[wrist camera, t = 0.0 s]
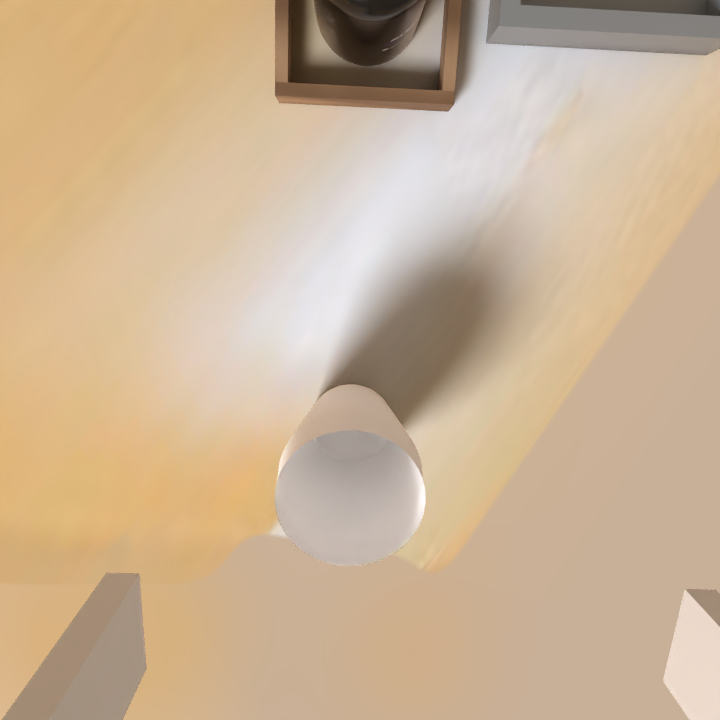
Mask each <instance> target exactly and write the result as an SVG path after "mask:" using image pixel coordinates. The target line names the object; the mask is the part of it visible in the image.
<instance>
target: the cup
mask: <svg viewBox="0 0 720 720" xmlns="http://www.w3.org/2000/svg"><path fill="white" fill-rule="evenodd" d="M425 498H426V495H425V487H424V481H423V475H422V465H421V460H420V457H419V454H418V451H417V449H416V447H415V445H414V443H413V441H412V440H411V438H410V436H409V435H408V434H407V432H406V431H405V429H404V428H403V426H402V425H401V423H400V422H399V420H398V419H397V418H396V416H395V415H394V413H393V412H392V410H391V409H390V407H389V406H388V405H387V403H386V402H385V400H384V399H383V398H382V397H381V396H380V395H379V394H378V393H376V392H375V391H373V390H372V389H370V388H367V387H365V386H361V385H356V384H346V385H340V386H337V387H334V388H332V389H330V390H328V391H327V392H325V393H324V394H323V395H322V396H321V397H320V398H319V399H318V400H317V401H316V403H315V404H314V405H313V407H312V408H311V410H310V411H309V412H308V414H307V415H306V417H305V418H304V419H303V421H302V422H301V424H300V425H299V426H298V428H297V429H296V431H295V432H294V434H293V435H292V436H291V438H290V439H289V441H288V443H287V445H286V447H285V449H284V451H283V454H282V456H281V460H280V464H279V471H278V479H277V483H276V489H275V508H276V513H277V516H278V519H279V522H280V524H281V526H282V528H283V530H284V532H285V533H286V535H287V536H288V537H289V539H290V540H291V541H292V542H293V543H294V544H295V545H296V546H297V547H298V548H300V549H301V550H302V551H304V552H305V553H307V554H308V555H310V556H312V557H314V558H316V559H318V560H320V561H324V562H326V563H330V564H335V565H341V566H358V565H365V564H370V563H373V562H377V561H379V560H382V559H384V558H386V557H388V556H390V555H392V554H393V553H395V552H396V551H398V550H399V549H400V548H402V547H403V546H404V545H405V544H406V543H407V542H408V541H409V540H410V539H411V537H412V536H413V535H414V533H415V532H416V530H417V528H418V526H419V524H420V522H421V520H422V517H423V513H424V509H425Z"/></svg>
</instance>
